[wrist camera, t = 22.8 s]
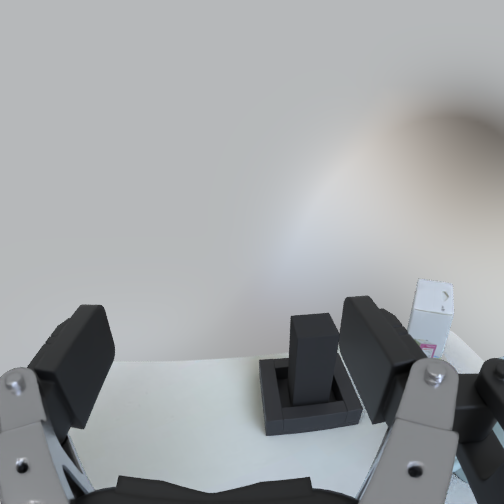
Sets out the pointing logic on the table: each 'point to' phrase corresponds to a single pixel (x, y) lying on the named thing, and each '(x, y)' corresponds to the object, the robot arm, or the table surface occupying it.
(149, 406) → the table surface
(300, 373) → the block
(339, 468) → the table surface
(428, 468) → the robot arm
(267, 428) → the base pad
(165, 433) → the table surface
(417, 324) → the ink box
